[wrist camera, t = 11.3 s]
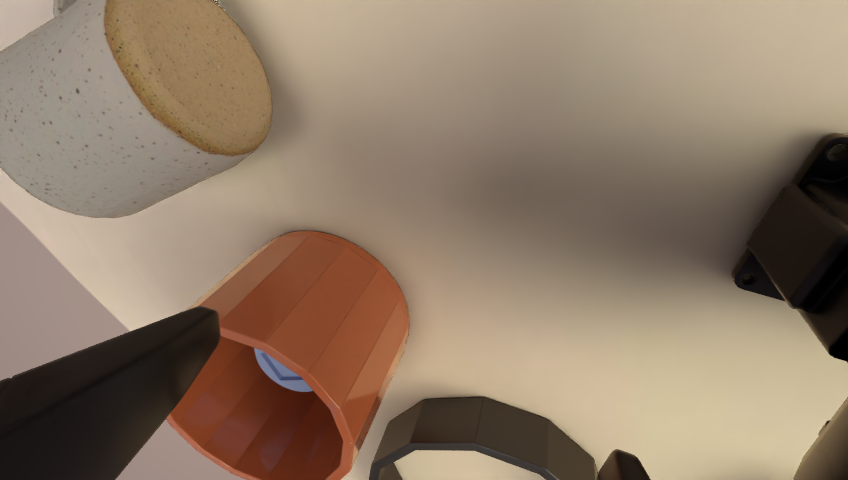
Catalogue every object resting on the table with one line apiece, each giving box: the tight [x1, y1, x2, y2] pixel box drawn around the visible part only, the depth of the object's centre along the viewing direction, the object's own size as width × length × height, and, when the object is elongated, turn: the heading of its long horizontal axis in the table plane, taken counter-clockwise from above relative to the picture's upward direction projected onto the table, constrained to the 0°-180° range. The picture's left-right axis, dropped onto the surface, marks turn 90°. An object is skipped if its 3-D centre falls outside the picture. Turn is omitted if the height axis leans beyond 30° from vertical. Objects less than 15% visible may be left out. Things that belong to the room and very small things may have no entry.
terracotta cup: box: [166, 231, 410, 480], centre depth 23 cm, size 10×10×8 cm
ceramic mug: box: [0, 0, 272, 218], centre depth 17 cm, size 11×8×8 cm
